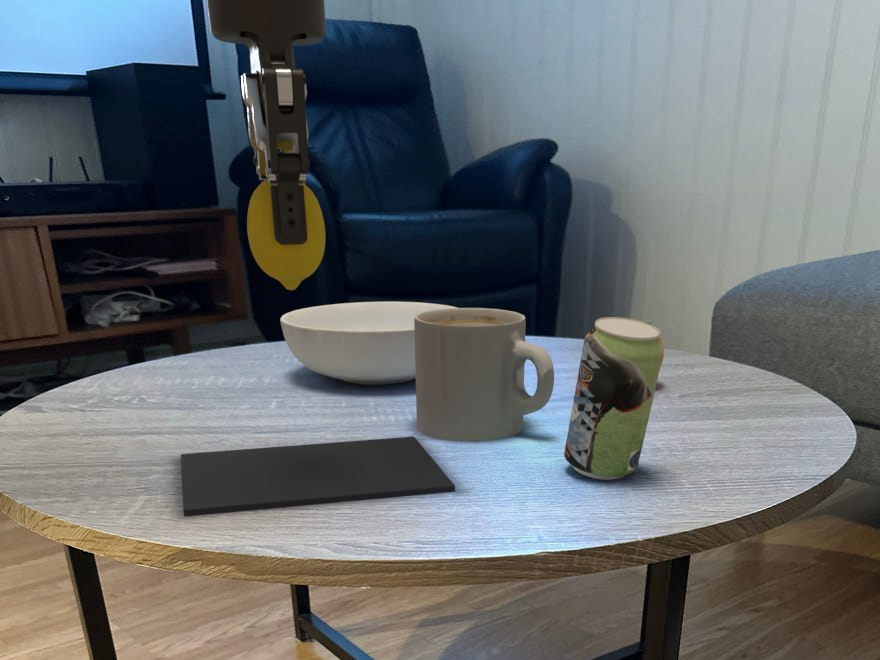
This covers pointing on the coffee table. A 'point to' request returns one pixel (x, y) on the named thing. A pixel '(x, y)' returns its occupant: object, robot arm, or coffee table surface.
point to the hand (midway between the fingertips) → (286, 238)
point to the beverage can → (613, 397)
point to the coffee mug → (476, 373)
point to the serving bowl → (357, 340)
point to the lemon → (284, 259)
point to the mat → (308, 475)
